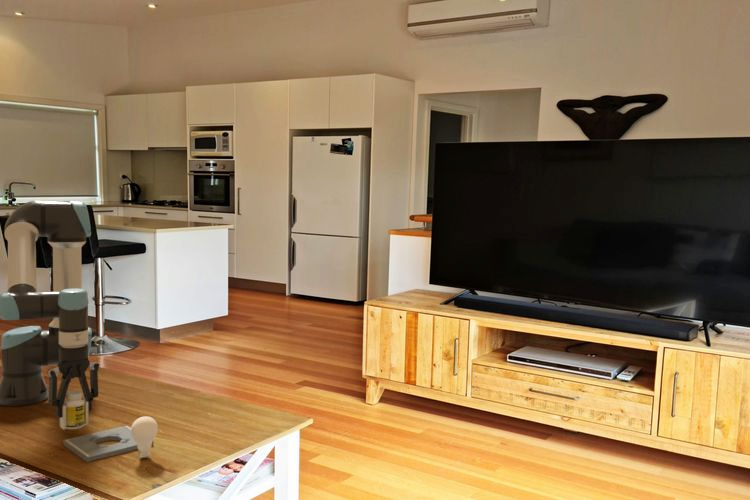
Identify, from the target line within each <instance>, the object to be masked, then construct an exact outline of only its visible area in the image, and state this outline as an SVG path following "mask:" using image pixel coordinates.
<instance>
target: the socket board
mask: <svg viewBox="0 0 750 500" xmlns="http://www.w3.org/2000/svg"><path fill="white" fill-rule="evenodd" d="M131 427H132V426H131ZM131 427H130V426H129V425H123V426H120V427H115V428H111V429H105V430H100V431H97V432H96V431H95V432H92V433H87V434H85V435H81V436H80V435H79V436H75V437H71V438H67V439H63V440H62V445H63V446H65V448H67V449H68V450H69V451H71V452H73V453H74V454H75V455H77V456H78V457H79V458H81V459H82V460H84V461H85V462H86V463H89V462H94V461H97V459H98V460H101V459H105V458H109V457H113V456H116V455H120V454H125V453H128V452H131V451H132V452H133V451H135V450H136V451H137V450H138V447H137V443H136V441H135V440H134V438H133V437H132V435H131ZM106 441H119V442H117V443H113V444H108V445H106V444H98V443H101V442H106ZM152 446H154V441H153V442H152V445H151V447H152Z"/></svg>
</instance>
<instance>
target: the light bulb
mask: <svg viewBox="0 0 750 500" xmlns="http://www.w3.org/2000/svg"><path fill="white" fill-rule="evenodd" d="M158 427H159V426H158V423H157V421H156V420H155V419H154V418H153V417H151V416H146V415H145V416H141V417H138V418H137V419H135V420H134V421H133V423H132V424H131V435H132V437H133V438H134V440H135V441H136V443H137V447H138V449H137V450H138V453H137V454H138V457H139V458H141V459H147V458H149V457H151V456H150V455H151V449H152V446H153V445H152V442H153V443H154V440H155V437H156V436H157V435H158V431H159V428H158ZM151 445H152V446H151Z"/></svg>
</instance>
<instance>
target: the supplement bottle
mask: <svg viewBox="0 0 750 500" xmlns="http://www.w3.org/2000/svg"><path fill="white" fill-rule="evenodd" d="M82 397H83V391H82V390H71V391H67V393H66V399H65V400H64V405H65V406H66V429H65V430H78V429H81V428H84V426H85V424H84V423H85V401H84V400H83V398H82Z"/></svg>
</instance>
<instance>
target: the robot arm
mask: <svg viewBox="0 0 750 500" xmlns="http://www.w3.org/2000/svg"><path fill="white" fill-rule="evenodd" d="M91 235H92V231H91V222H90V215H89V211H88V207H87V204H85V202H83V201H77V200H76V201H74V200H31V201H28V202H26V203H23V204H22V205H20V206H19V207H17V208H16V209H14V210H13V212H12V213H11V214H10V215H9V216H8V218H7V220H6V222H5V225H4V238H5V240H7V284H6V287H7V290H6V291H7V292H6V293H5V292H4V293H0V319H1V320H4V321H19V320H22V321H23V320H33V319H34V320H35V319H52V321H51V322H49V324H48V329H47V330H43V329H42V327H41V326H40V325H29V326H22V327H21V326H20V327H16V328H13V329H9V330H8V331H6V332H4V333H3V334H2V336H1V338H0V339H1V344H0V350H1V379H0V406H3V407H4V406H5V407H20V406H27V405H28V406H29V405H34V404H38V403H40V402H43V401H45V400H47V399H48V403H49V404H50V405H51V406H53V407H55V412H56V413H55V415H56V417H57V418H58V419H59V427H60V428H61V429H62V430H67V429H66V406H65V405H64V402H65V401H66V397H67V393H68V389H69V385H70V383H71V381H72V379H74V378H77V379H78V381H79V385H80V387H81V392H82V395H83V397H84V399H83V398H82V399H83V400H84V401H85V423H84V425H90V424H89V422H90V421H89V420H90V419H89V412H91V411H92V405H93V404H92V403H93V401H94V399H95V398H98V397H99V375H98V373H99V372H98V371H99V368H100V364H99V363H98V362H96V361H92V362H91V361H90V360H89V357H90V353H91V352H90V351H91V348H92V347H91V346H92V338H93V337H92V334H93V331H92V330H93V329H92V328H91V327H89V298H88V296H89V294H88V291H87V290H86V289H83V287H82V286H83V285H82V277H83V275H82V272H83V271H82V270H83V269H82V267H83V266H82V247H83V246H84V245H85V244H86V243H87V238H89V237H91ZM39 237H42V238H43V237H46V238H47V243H48V244H49V245H50V246H51V247H52V276H53V277H52V279H53V281H52V283H53V285H52V286H53V291H38V290H37V249H36V247H37V246H36V242H37V241H38V239H39ZM49 366H51V367H52V366H56V367H54V368H49V369H48V370H47V371H46V372H47V374H48V378H49V379H48V386H47V383H46V382H45V378H44V376H43V372H42V371H43V367H49ZM87 369H89V380H90V381H89V382H90V383H88V381H87V376H86V371H87ZM59 372H60V374H61V381H60V384H59V388H58V376H59ZM89 384H90V386H89Z"/></svg>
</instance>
